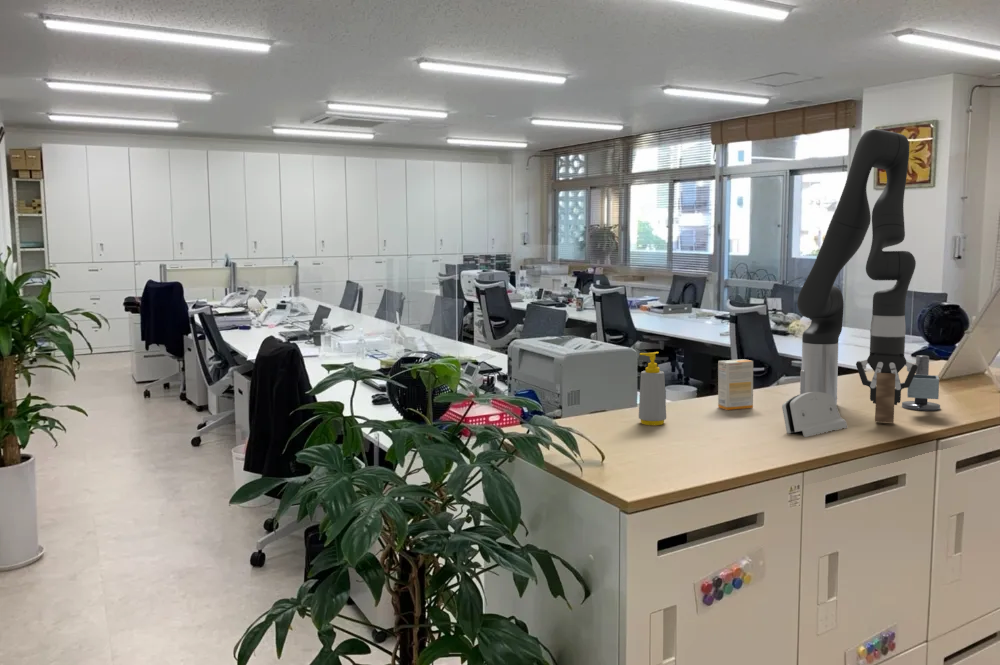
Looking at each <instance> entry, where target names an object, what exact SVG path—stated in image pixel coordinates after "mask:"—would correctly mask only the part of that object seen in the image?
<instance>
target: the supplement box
mask: <svg viewBox="0 0 1000 665" xmlns="http://www.w3.org/2000/svg"><path fill="white" fill-rule="evenodd" d="M717 367H718V368H717V369H718V370H717V372H718V373H717V374H718V375H717V376H718V377H717V378H718V379H717V381H718V382H717V384H718V385H717V391H718V392H717V394H718V395H717V399H718V400H717V401H718V402H717V403H718V404H717V407H718V408H720V409H723V410H726V411H730V410H741V409H743V410H744V409H753V407H754V360H749V359H745V358H744V359H743V358H742V359H741V358H740V359H729V360H726V359H725V360H718V363H717Z"/></svg>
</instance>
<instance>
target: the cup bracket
mask: <svg viewBox="0 0 1000 665" xmlns="http://www.w3.org/2000/svg"><path fill="white" fill-rule="evenodd" d="M915 358H916V359H915V363H916V364H917V365H918V368H917V370H916V373H915V375H914V377H913V380H912V382H911V384H910V386H909V387H908V388H906V389H907V392H906V393H907V394H906V396H907V398H910V399H914V400H907V401H903V402H901V408H903V409H907V410H911V411H919V412H937V411H940V410H941V404H939V403H937V402H931V401H928V400H939V394H940V377H939V375H931V374H929V370H930V368H929V366H930V356H929V355H923V354H921V355H916V356H915Z"/></svg>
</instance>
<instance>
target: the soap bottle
mask: <svg viewBox="0 0 1000 665" xmlns="http://www.w3.org/2000/svg"><path fill="white" fill-rule="evenodd" d="M656 354H657V355H658V354H659V351H654V352H640V353H639V356H646V357H649V360H650V362H648V363H647V367H645V370H643V371H641V372H640V381H639V382H640V383H639V384H640V385H639V405H638V419H639V420H640V422H641V424H642V425H645V426H661V425H664V424H665V420H667V405H666V404H667V402H666V382H665V381H666V380H665V372H664V371H663V370H660V367H659V366H658V363H657V362H655V361H656Z"/></svg>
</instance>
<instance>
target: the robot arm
mask: <svg viewBox="0 0 1000 665" xmlns="http://www.w3.org/2000/svg"><path fill="white" fill-rule="evenodd" d="M909 159H910V142H909V139H908V138H907V136H906V135H904V134H902V133H898V132H895V131H889V130H884V129H878V128H873V127H872V128H869V129H867V130H866V131H865V132H863V134H862V135H861V137H860V138H859V141H858V143H857V146H856V147H855V151H854V154H853V157H852V161H851V164H850V167H849V170H848V174H847V177H846V180H845V184H844V188H843V190H842V192H841V195H840V198H839V200H838V203H837V206H836V208H835V210H834V213H833V215H832V217H831V220H830V221H829V222H830V223H829V224H828V227H827V230H826V233H825V235H824V238H823V241H822V243H821V246H820V249H819V250H818V254H817V256H816V259H815V261H814V263H813V266H812V267H811V270H810V271H809V274H808V275H807V277H806V280H805V281H804V283H803V285H802V287H801V289H800V291H799V293H798V296H797V300H796V301H797V309H798V311H799V314H800V315H801V316H802V317H805V318H807V319H811V322H810V324H809V326H808V328H807V329H806V330H804V331H803V333H802V337H801V338H802V339H801V340H802V342H801V370H800V382H799V383H800V385H799V386H800V388H799V394H804V393H808V392H823V393H827V394H830V395H832V396H833V398H834V401H835V404H836V406H837V404H838V378H839V377H838V371H839V370H838V368H839V340H840V338H839V337H840V336H841V333H842V330H843V322H844V321H843V320H844V305H845V303H844V295H843V293H842V291H841V289H840V288H838V286H836V285H834V284H835V282H836V279H837V277H838V276H839V274H840V272H841V271H842V270H843V268H844V267H845V266H846V265H847V264H848V262H850V261H851V259H853V257H854V255H855V254H856V253H857V251H859V250H860V247H861V246H862V244H863V242H864V239H865V237H866V235H867V233H868V230H869V227H870V225H871V229H872V235H871V236H872V237H871V238H872V241H871V245H870V250H869V254H868V257H867V260H866V265H865V272H866V274H867V276H868V277H869V279H870V280H873V281H896V283H895V284H894V285H893V287H891V288H888V289H883V290H878V291H876V292H874V294H873V297H872V315H871V323H870V330H869V332H870V335H869V336H870V337H869V356H868V357H867V358H866V359H863V360H857V361H856V363H855V365H856V368H857V373H858V374H859V378H860V381H861V384H862V385H863V386H865V387H868V388H869V389H870V390H869V392H870V394H869V400H870V402H872V404H875V405H876V382H877V373H880V372H881V373H893V374H895V375H896V376H895V398H894V406H898V404H900V402H901V401H902V400H901V398H902V390H903V389H908V387H909V386H910V384H911V382H912V380H913V377H914V375H916V370H917V368H918V365H917V364H916V362H915V363H912V362H910V361H907V359H906V356H905V347H906V333H907V332H906V329H907V328H906V325H907V324H906V319H905V318H906V316H905V315H906V301H907V300H906V298H907V294H908V291H909V286H910V284H911V281H912V278H913V275H914V273H915V269H916V266H917V265H916V264H917V263H916V262H917V261H916V259H915V256H914V254H912V253H911V251H909V250H908V251H907V250H888V251H887V250H884V249H885V248H888V247H893V246H897V245H899V244H901V243H902V242H904V240H905V236H906V231H905V230H906V229H905V214H904V201H905V200H904V199H905V192H906V184H907V176H908V166H909ZM873 168H874V169H880V170H885V174H886V184H885V187H884V189H883V191H882V192H881V194H880V195H879V197H878V198H877V200H876V201H875V203H874V205H873V208H872V210H871V208H870V205H869V199H868V194H867V193H868V192H867V186H868V182H869V177H870V174H871V171H872V169H873ZM867 365H869V366H870V368H871V370H872V371H873V372H874V373H873V376H872V379H871V380H869V379H868V377H867V373H866V371H865V369H867ZM904 367H906V372H908V374H907V375H906V378H905V380H904V381H903V382H901V379H900V375H899V372H901V371H902V369H903V368H904Z"/></svg>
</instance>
